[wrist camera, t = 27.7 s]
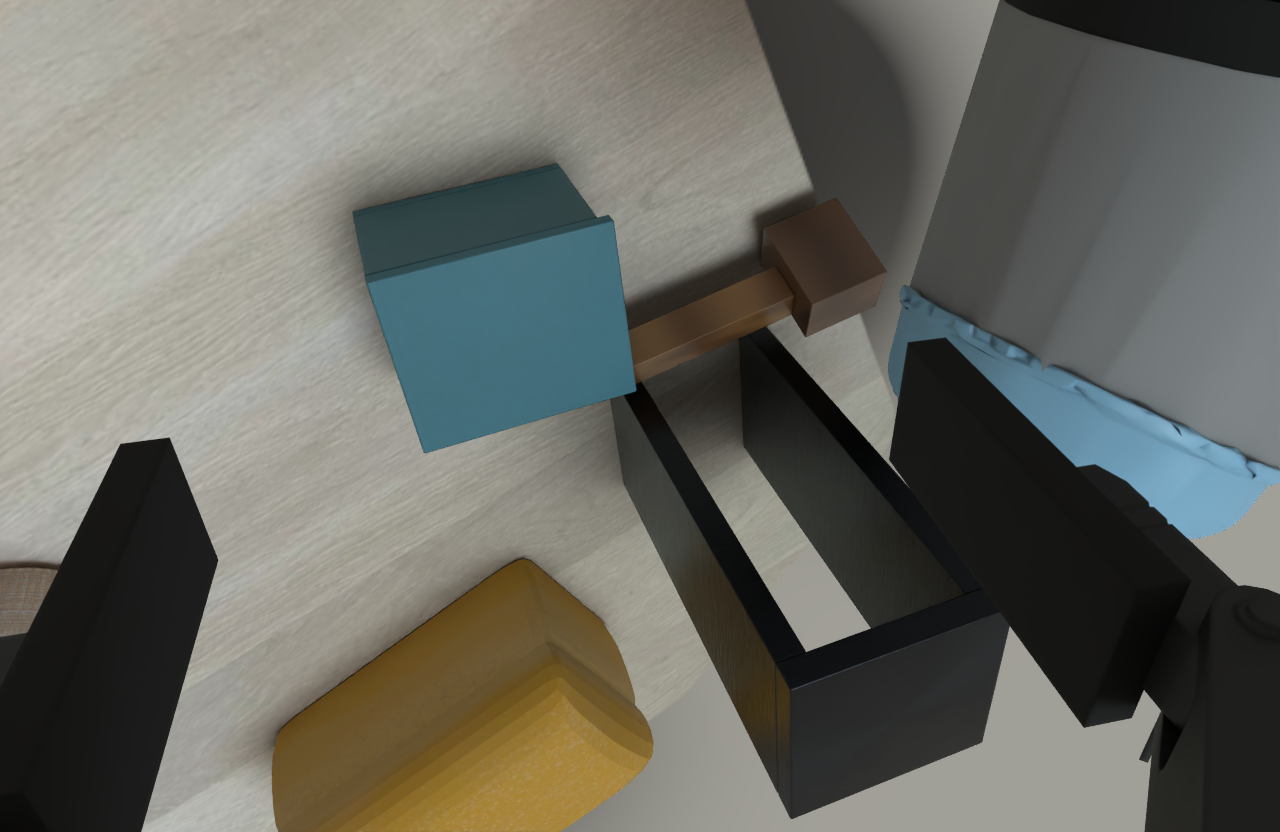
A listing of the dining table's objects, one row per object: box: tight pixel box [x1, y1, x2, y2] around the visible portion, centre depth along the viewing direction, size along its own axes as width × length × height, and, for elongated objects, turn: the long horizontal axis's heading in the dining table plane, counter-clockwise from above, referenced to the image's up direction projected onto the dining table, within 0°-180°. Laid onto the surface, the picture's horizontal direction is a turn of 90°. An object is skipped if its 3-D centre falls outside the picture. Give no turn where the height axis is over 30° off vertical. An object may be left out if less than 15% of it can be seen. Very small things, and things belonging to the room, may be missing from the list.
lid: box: [365, 215, 637, 453], centre depth 45 cm, size 12×10×1 cm
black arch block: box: [610, 326, 1010, 819], centre depth 52 cm, size 11×11×27 cm
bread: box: [272, 559, 653, 832], centre depth 65 cm, size 24×13×15 cm, turn 122°
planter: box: [0, 567, 58, 637], centre depth 52 cm, size 11×11×10 cm
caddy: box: [353, 164, 597, 277], centre depth 49 cm, size 11×10×8 cm
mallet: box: [629, 198, 887, 384], centre depth 54 cm, size 17×6×4 cm
